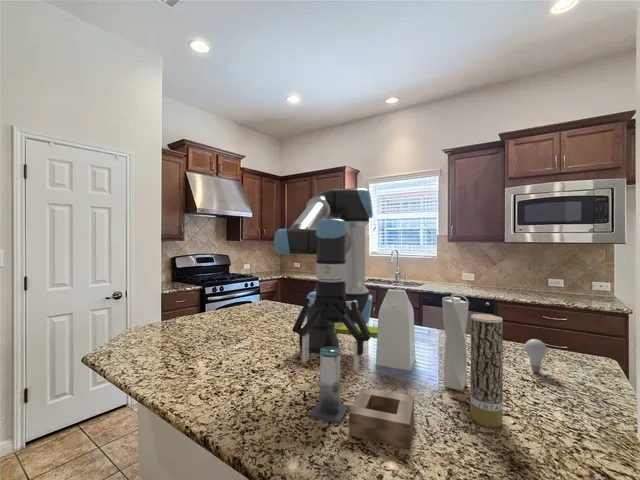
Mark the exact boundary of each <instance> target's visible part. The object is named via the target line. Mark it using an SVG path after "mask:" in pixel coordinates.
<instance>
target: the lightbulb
mask: <svg viewBox="0 0 640 480" xmlns="http://www.w3.org/2000/svg"><path fill="white" fill-rule="evenodd" d="M524 349H525V352H526V354H527V355H528V358H529V359H528V360H529V363H530V370H531V371H532V372H534V373H539V372H541V366H542V363H543V359H544V358H545V357H546V355H547V352H548V350H547V349H548V348H547V346H546V344H545V343H544V342H543V341H541V340H540V339H536V338H532V339H529V340H527V341H526V342H525V345H524Z"/></svg>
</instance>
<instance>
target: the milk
mask: <svg viewBox="0 0 640 480" xmlns="http://www.w3.org/2000/svg"><path fill="white" fill-rule="evenodd" d="M377 317H378V318H377V327H378V332H377V338H376V349H375V350H376V351H375V352H376V355H375V366H381V367H387V368H392V369H397V370H403V371H404V370H405V371H408V372H409V371H410V372H411V371H412V368H413V366H414V365H415V362H416V361H417V359H416V357H417V356H416V337H415V335H416V334H415V312H414V307H413V305H412V303H411V301H410V299H409V296H408V295H407V292H406V290H403V289H387V292H386V293H385V296H384V298H383V301H382V303H381V306H380V308H379V312H378V316H377Z"/></svg>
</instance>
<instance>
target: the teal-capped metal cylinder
mask: <svg viewBox="0 0 640 480" xmlns="http://www.w3.org/2000/svg"><path fill="white" fill-rule="evenodd" d="M319 355H320V359H319V360H320V361H319V366H320V367H319V401H320V412H321V413H323V414H326V415H335V414H337V413H338V412H339V411H340V400H341V397H340V395H341V349H340V347H339V348H336V347H323V348H321V349H320V353H319Z"/></svg>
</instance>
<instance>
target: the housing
mask: <svg viewBox="0 0 640 480" xmlns="http://www.w3.org/2000/svg"><path fill="white" fill-rule="evenodd" d="M354 400H355V401H354V402H353V404H352V406H351V408H350V410H349V411H348V436H351V437H356V438H359V439H364V440H369V441H372V442H376V443H377V442H378V443H382V444H387V445H392V446H395V447H399V448H402V449H403V448H404V449H408V450H410V447H411V441H412V435H413V434H412V433H413V424H414V418H415V417H414V416H415V407H414V406H415V396H413V395H407V394H401V393H396V392H391V391H383V390H379V389H372V388H368V387H367V388H366V387H361V388H360V391H359V393H358V395H357V396H356V399H354Z"/></svg>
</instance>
